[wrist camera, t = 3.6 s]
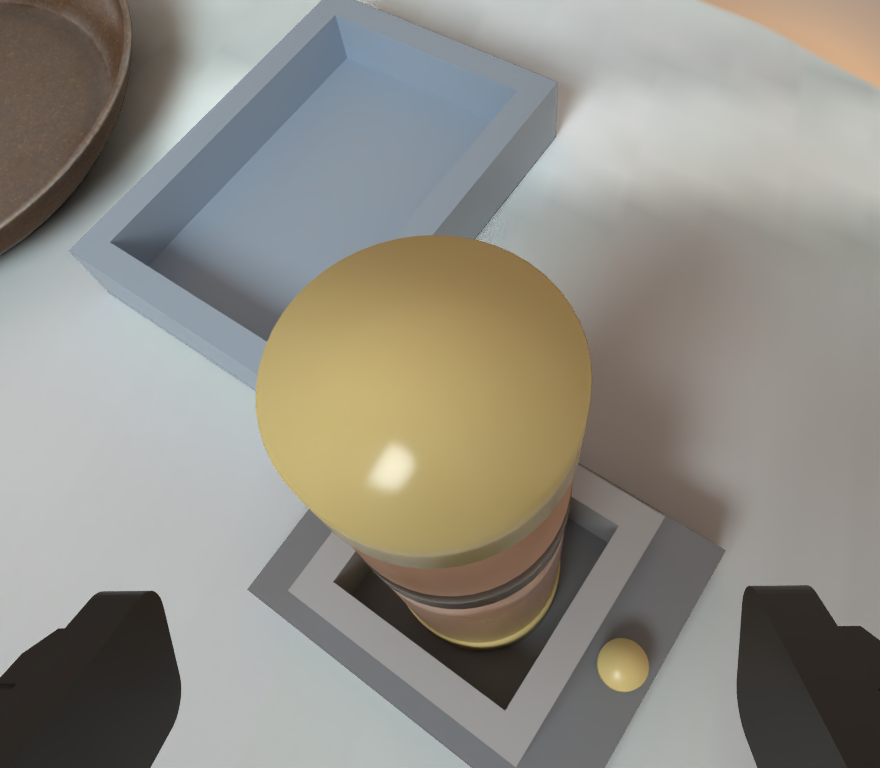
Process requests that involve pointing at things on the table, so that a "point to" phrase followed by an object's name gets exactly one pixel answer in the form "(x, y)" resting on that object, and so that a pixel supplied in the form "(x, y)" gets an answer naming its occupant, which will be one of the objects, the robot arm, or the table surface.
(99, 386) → the table surface
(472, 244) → the cylinder
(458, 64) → the parts tray
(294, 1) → the table surface
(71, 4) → the plant saucer
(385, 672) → the fuse block
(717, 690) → the table surface
